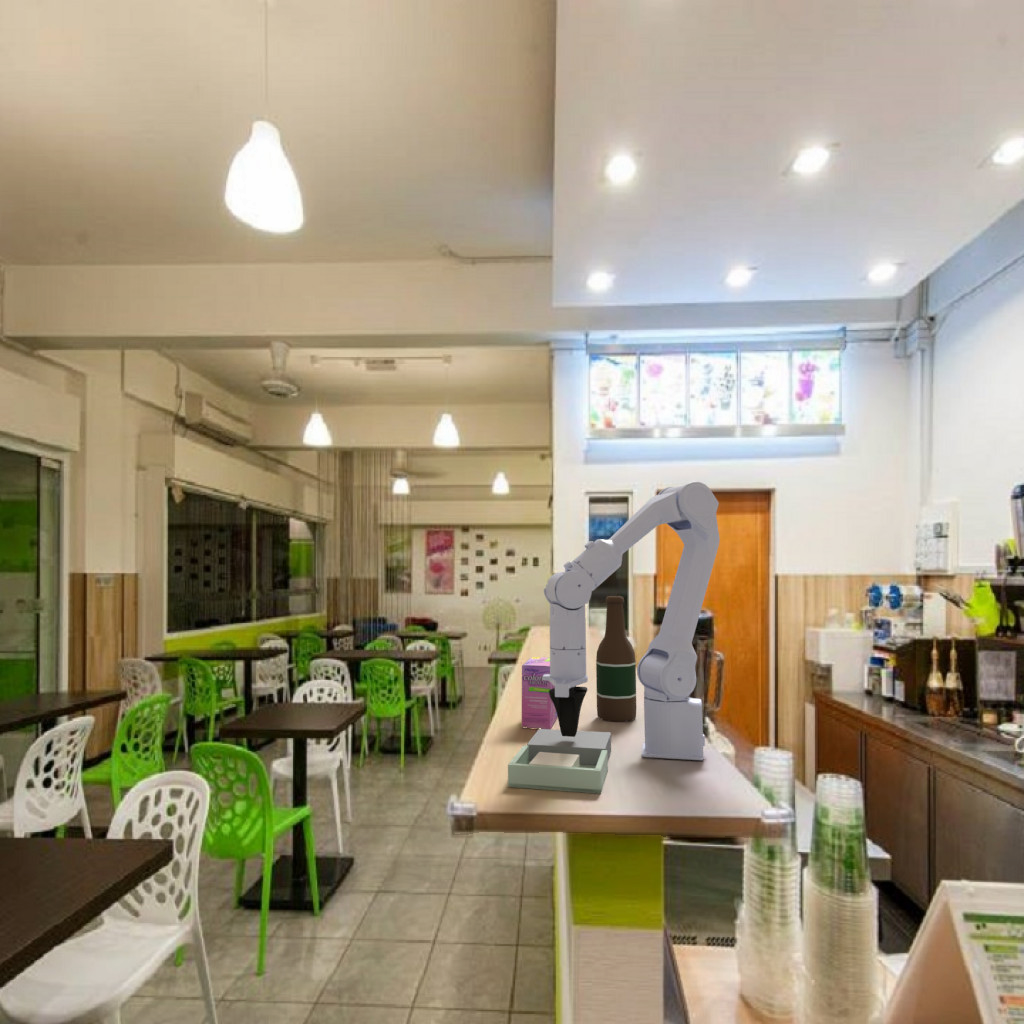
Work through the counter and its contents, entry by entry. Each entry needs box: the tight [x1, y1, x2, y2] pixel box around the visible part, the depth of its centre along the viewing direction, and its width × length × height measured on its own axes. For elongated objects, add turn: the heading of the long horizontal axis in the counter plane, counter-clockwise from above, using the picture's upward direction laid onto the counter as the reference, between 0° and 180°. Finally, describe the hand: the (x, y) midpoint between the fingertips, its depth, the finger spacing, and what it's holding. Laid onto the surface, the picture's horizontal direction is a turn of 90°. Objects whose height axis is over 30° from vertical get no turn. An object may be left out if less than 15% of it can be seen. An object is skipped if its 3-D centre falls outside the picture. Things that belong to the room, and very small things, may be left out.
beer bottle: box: [595, 595, 637, 723], centre depth 136 cm, size 8×8×24 cm
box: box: [520, 656, 558, 729], centre depth 132 cm, size 10×6×12 cm, turn 168°
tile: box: [529, 752, 580, 768], centre depth 97 cm, size 6×6×2 cm
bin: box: [507, 744, 609, 795], centre depth 98 cm, size 13×11×3 cm
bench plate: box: [526, 728, 612, 766], centre depth 109 cm, size 12×10×3 cm
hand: (569, 735), depth 107 cm, fingers closed
